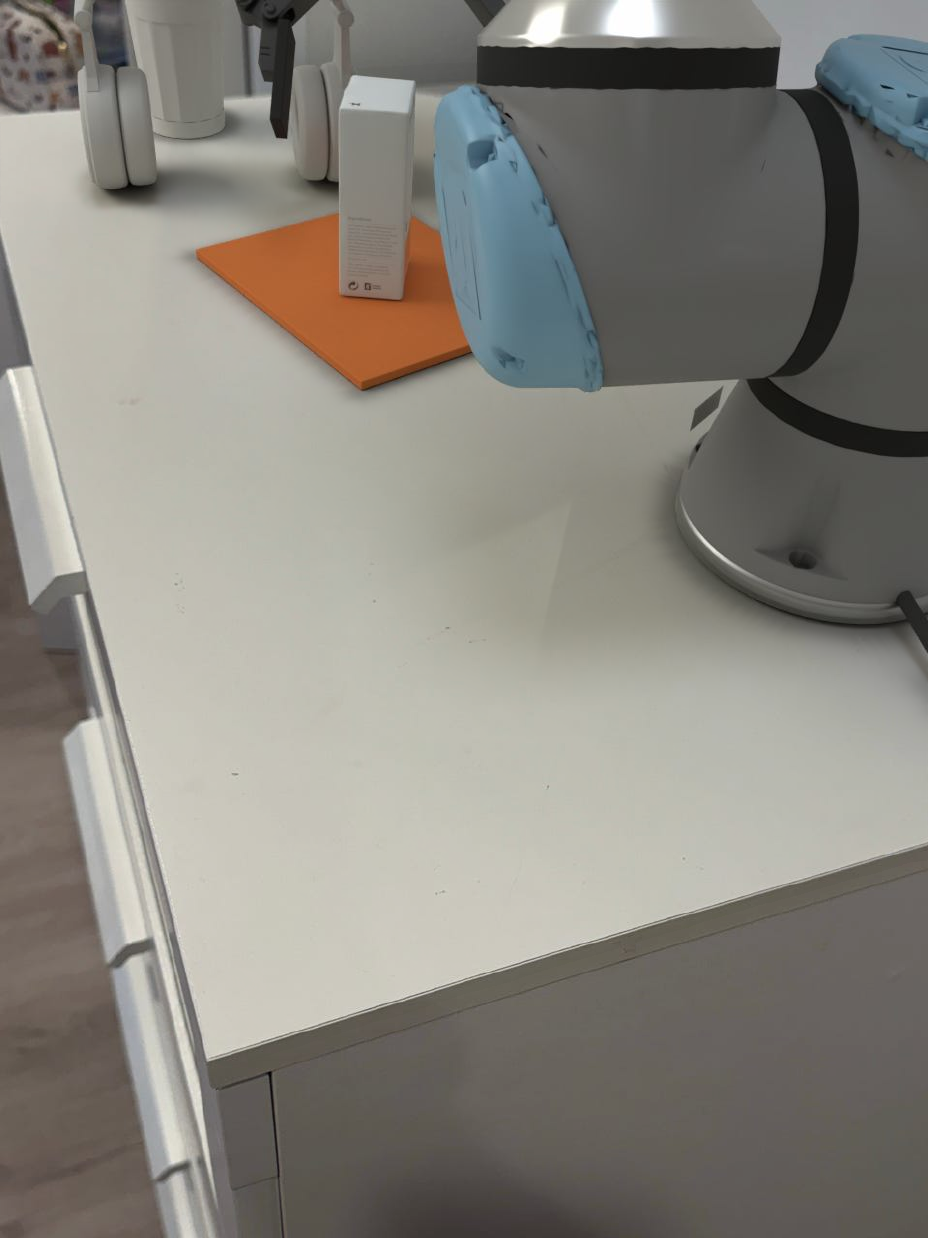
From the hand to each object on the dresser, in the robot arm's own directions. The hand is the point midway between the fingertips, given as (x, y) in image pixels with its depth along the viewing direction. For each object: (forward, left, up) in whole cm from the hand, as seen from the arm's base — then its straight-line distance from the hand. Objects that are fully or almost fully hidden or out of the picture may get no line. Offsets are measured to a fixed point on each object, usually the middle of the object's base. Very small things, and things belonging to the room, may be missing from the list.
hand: (383, 138), depth 76 cm
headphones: (+15, +7, -9) cm, 19 cm away
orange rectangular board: (-4, +1, -8) cm, 9 cm away
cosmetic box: (-3, +1, -8) cm, 9 cm away
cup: (+27, +8, -9) cm, 30 cm away
